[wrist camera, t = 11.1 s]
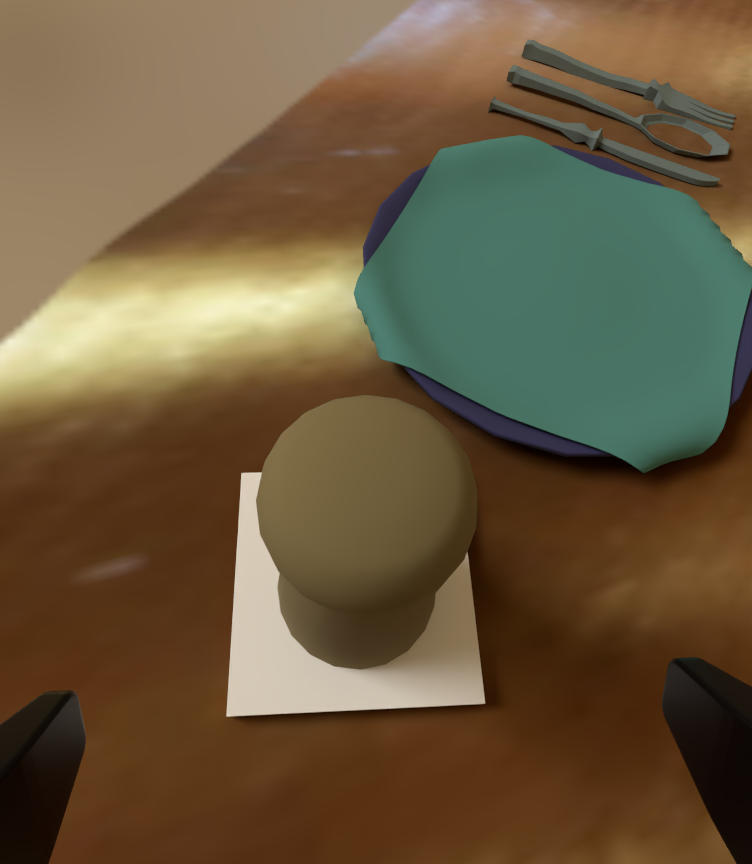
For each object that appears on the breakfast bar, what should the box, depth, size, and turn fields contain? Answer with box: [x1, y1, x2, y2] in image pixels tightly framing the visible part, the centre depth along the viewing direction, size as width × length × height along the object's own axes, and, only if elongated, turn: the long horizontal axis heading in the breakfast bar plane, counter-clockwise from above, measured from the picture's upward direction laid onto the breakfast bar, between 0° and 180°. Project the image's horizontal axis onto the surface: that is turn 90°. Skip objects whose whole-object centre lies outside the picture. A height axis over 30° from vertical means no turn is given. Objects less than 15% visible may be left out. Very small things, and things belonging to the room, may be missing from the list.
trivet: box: [227, 473, 485, 717], centre depth 23 cm, size 9×9×1 cm
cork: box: [256, 395, 478, 670], centre depth 17 cm, size 6×6×11 cm
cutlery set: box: [354, 40, 752, 473], centre depth 32 cm, size 20×30×2 cm, turn 155°
